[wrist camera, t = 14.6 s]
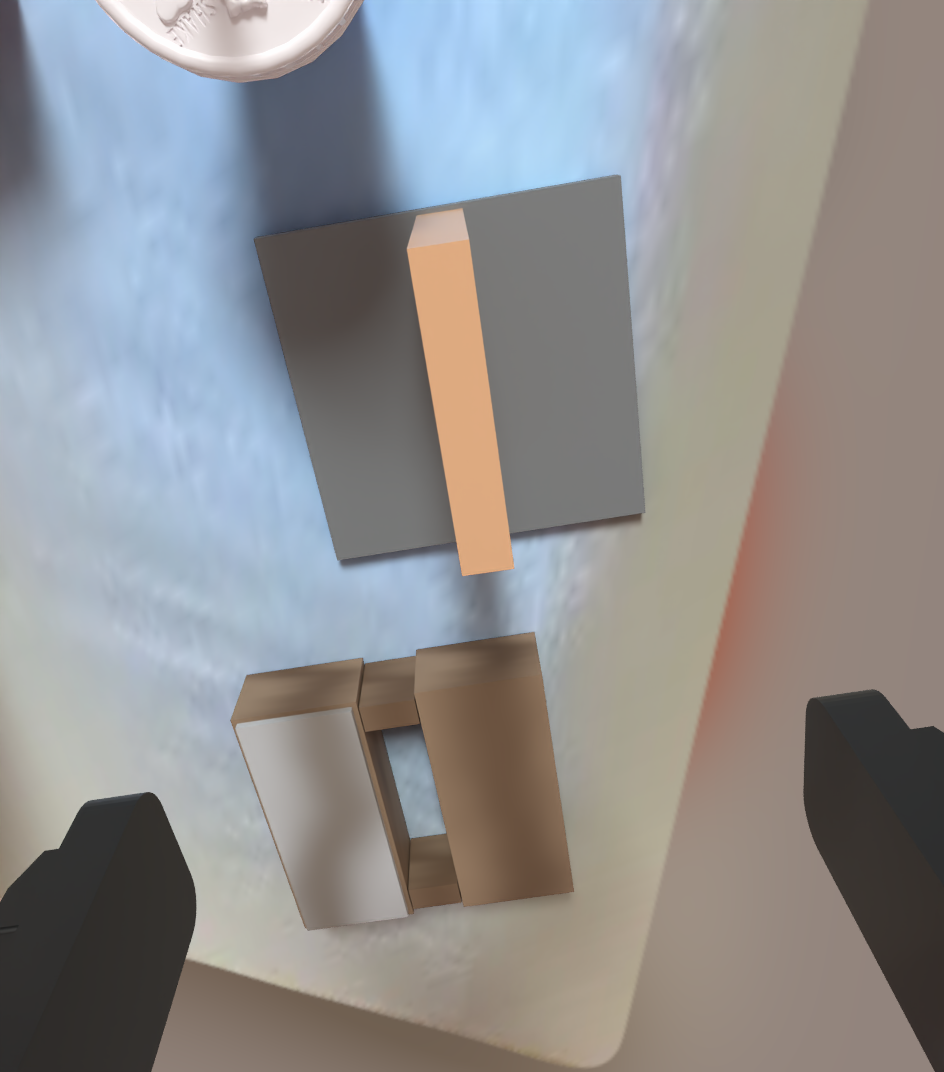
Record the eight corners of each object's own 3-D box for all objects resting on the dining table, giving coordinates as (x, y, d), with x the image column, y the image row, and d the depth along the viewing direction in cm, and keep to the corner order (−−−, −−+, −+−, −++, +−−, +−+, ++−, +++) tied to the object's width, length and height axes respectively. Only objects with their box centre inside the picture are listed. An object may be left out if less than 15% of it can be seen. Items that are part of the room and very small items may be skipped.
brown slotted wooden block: (314, 875, 41) (304, 934, 38) (246, 675, 36) (228, 725, 33) (565, 840, 40) (574, 897, 37) (534, 632, 35) (542, 678, 32)
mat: (339, 553, 33) (337, 560, 33) (257, 236, 28) (253, 239, 27) (642, 506, 33) (645, 512, 32) (617, 174, 27) (620, 175, 27)
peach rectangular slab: (462, 575, 24) (406, 249, 20) (457, 471, 31) (416, 215, 27) (514, 568, 24) (469, 239, 20) (498, 465, 31) (462, 208, 27)
